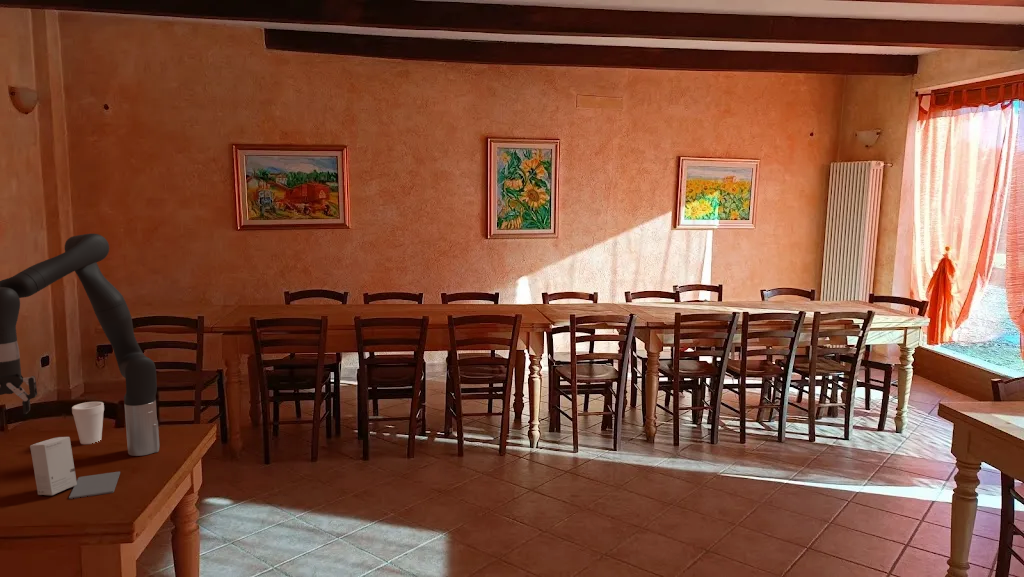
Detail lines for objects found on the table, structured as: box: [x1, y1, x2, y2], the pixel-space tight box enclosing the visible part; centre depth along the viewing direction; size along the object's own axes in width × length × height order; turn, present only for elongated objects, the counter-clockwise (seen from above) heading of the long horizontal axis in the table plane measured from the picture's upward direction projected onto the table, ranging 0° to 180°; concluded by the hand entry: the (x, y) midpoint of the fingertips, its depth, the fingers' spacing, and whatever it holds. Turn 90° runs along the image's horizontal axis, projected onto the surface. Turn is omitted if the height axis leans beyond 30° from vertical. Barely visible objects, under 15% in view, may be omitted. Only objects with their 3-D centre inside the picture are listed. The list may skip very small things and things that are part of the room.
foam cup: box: [71, 401, 105, 445], centre depth 239 cm, size 10×9×13 cm
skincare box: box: [29, 436, 77, 496], centre depth 198 cm, size 8×6×15 cm
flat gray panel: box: [68, 471, 121, 500], centre depth 202 cm, size 11×16×1 cm
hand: (8, 415), depth 192 cm, fingers open, 7 cm apart
